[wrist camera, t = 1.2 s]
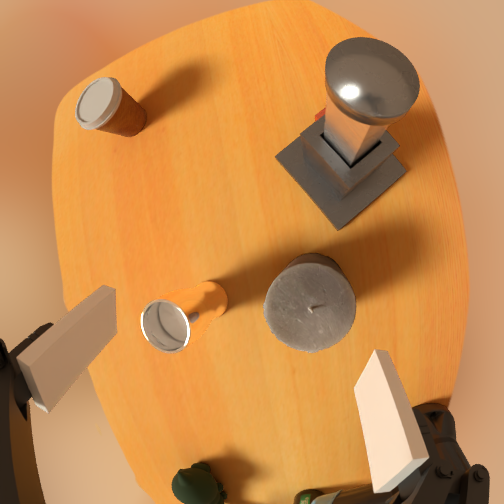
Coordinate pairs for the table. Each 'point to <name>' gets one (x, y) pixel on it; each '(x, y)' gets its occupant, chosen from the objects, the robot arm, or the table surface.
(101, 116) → the disposable coffee cup
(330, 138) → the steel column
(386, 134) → the jack stand
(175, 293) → the beer glass
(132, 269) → the table surface
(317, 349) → the pillar candle
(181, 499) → the toy figurine
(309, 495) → the supplement bottle
